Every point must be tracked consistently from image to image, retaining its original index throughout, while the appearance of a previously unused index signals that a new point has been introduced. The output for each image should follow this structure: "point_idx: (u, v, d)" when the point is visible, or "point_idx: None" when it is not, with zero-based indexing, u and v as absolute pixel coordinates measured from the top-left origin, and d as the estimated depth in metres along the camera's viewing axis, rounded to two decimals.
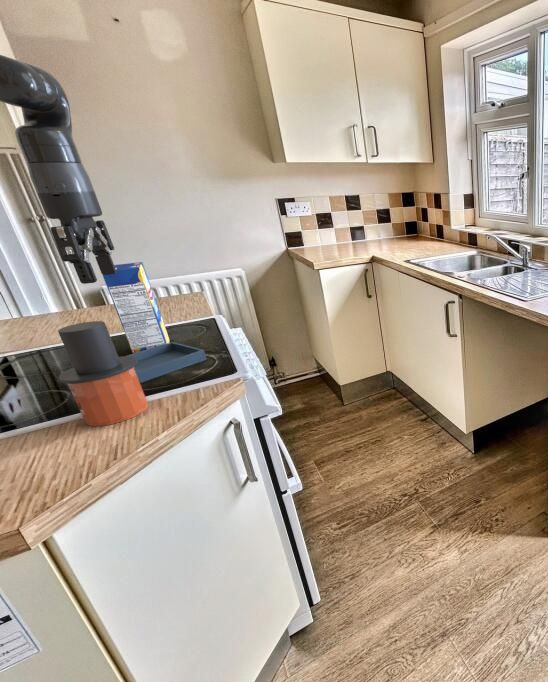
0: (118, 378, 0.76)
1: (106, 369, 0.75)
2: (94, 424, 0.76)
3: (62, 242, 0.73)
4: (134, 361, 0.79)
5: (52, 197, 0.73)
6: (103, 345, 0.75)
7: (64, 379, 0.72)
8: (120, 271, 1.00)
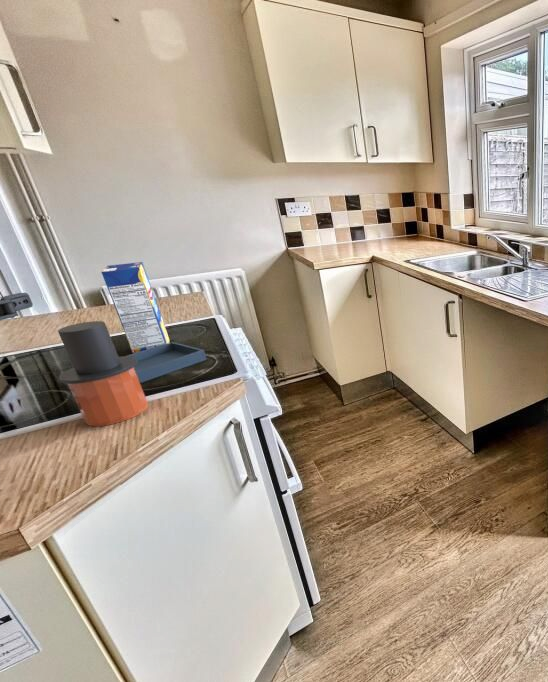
0: (118, 378, 0.76)
1: (106, 369, 0.75)
2: (94, 424, 0.76)
3: None
4: (134, 361, 0.79)
5: None
6: (103, 345, 0.75)
7: (64, 379, 0.72)
8: (120, 271, 1.00)
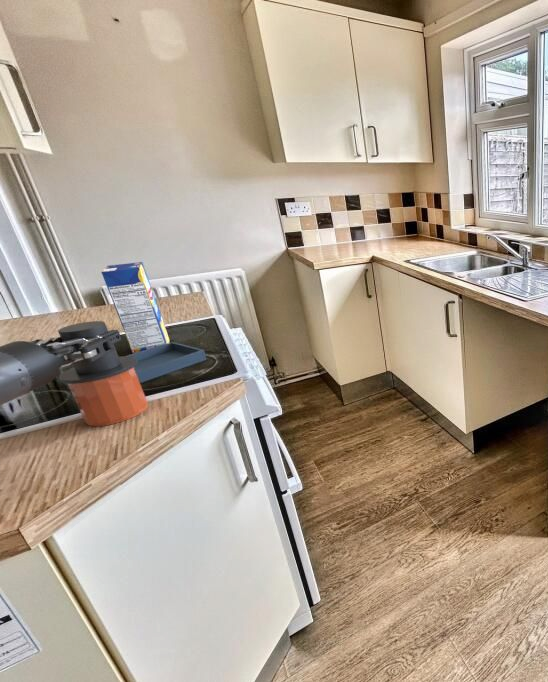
0: (118, 378, 0.76)
1: (106, 369, 0.75)
2: (94, 424, 0.76)
3: None
4: (134, 361, 0.79)
5: None
6: None
7: (64, 379, 0.72)
8: (120, 271, 1.00)
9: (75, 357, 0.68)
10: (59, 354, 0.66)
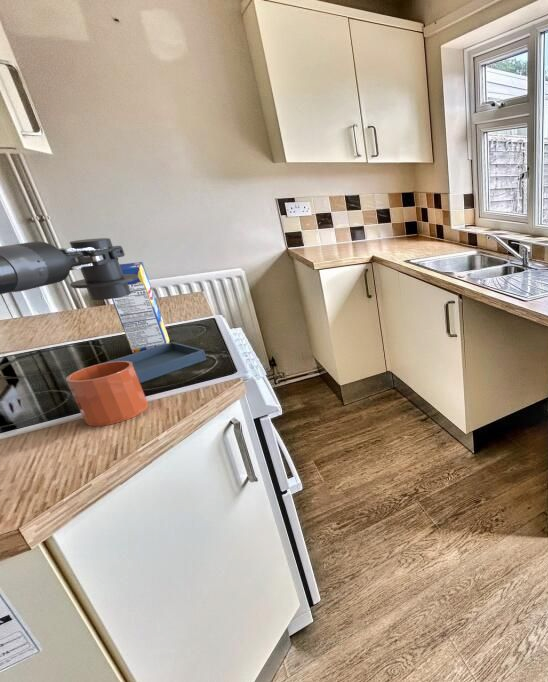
0: (118, 378, 0.76)
1: (111, 279, 0.86)
2: (94, 424, 0.76)
3: None
4: (135, 276, 0.90)
5: None
6: None
7: (75, 284, 0.83)
8: None
9: (85, 260, 0.78)
10: (71, 256, 0.77)
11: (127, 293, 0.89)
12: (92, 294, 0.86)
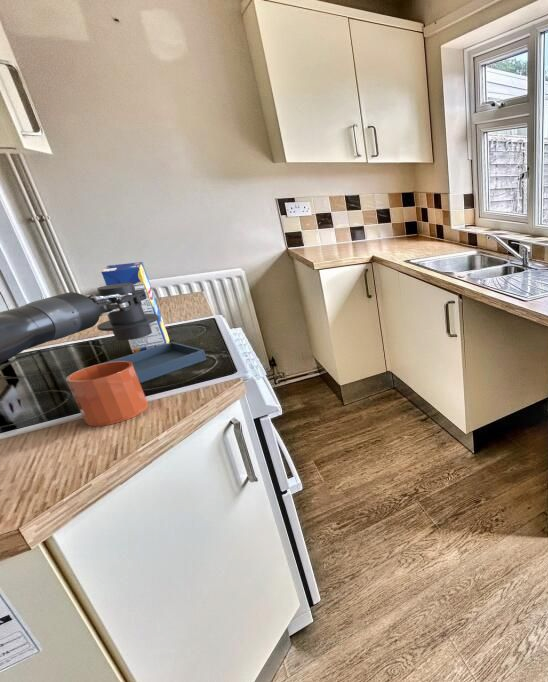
0: (118, 378, 0.76)
1: (134, 321, 0.93)
2: (94, 424, 0.76)
3: None
4: (156, 316, 0.97)
5: None
6: None
7: (102, 327, 0.90)
8: (120, 271, 1.00)
9: (112, 307, 0.86)
10: (100, 304, 0.84)
11: (149, 333, 0.96)
12: (117, 335, 0.93)
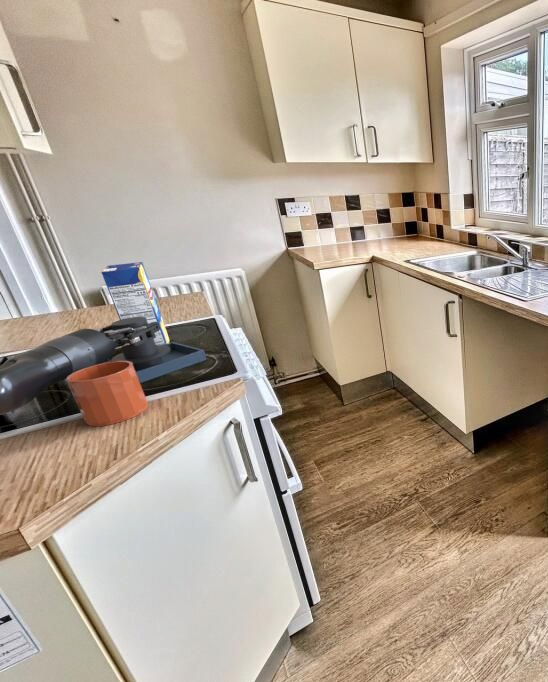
0: (118, 378, 0.76)
1: (147, 354, 0.96)
2: (94, 424, 0.76)
3: None
4: (168, 349, 1.00)
5: None
6: None
7: None
8: (120, 271, 1.00)
9: (124, 342, 0.88)
10: (114, 339, 0.87)
11: None
12: None
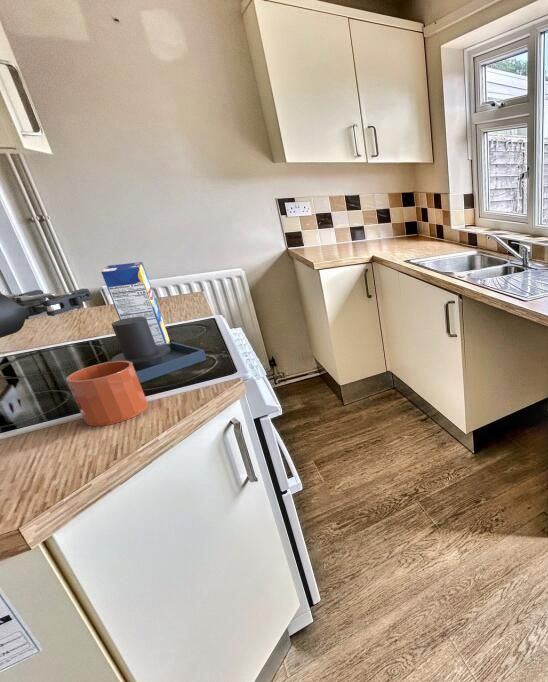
0: (118, 378, 0.76)
1: (147, 354, 0.96)
2: (94, 424, 0.76)
3: None
4: (168, 349, 1.00)
5: None
6: (145, 335, 0.96)
7: None
8: (120, 271, 1.00)
9: (39, 309, 0.72)
10: (26, 305, 0.71)
11: None
12: None
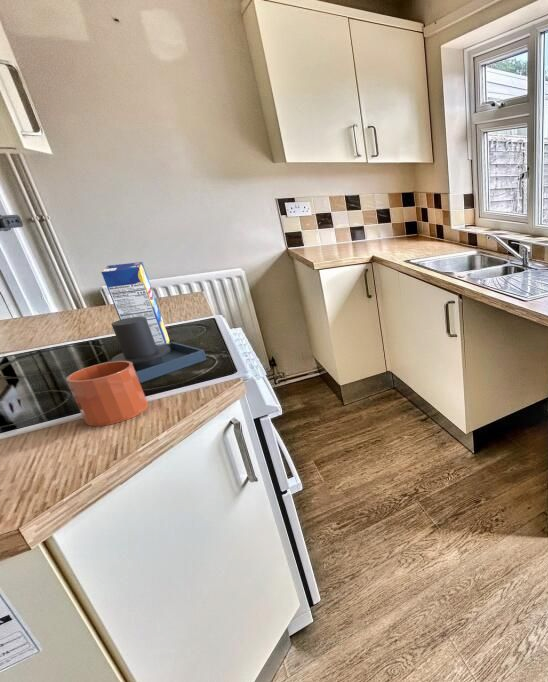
0: (118, 378, 0.76)
1: (147, 354, 0.96)
2: (94, 424, 0.76)
3: None
4: (168, 349, 1.00)
5: None
6: (145, 335, 0.96)
7: None
8: (120, 271, 1.00)
9: None
10: None
11: None
12: None
